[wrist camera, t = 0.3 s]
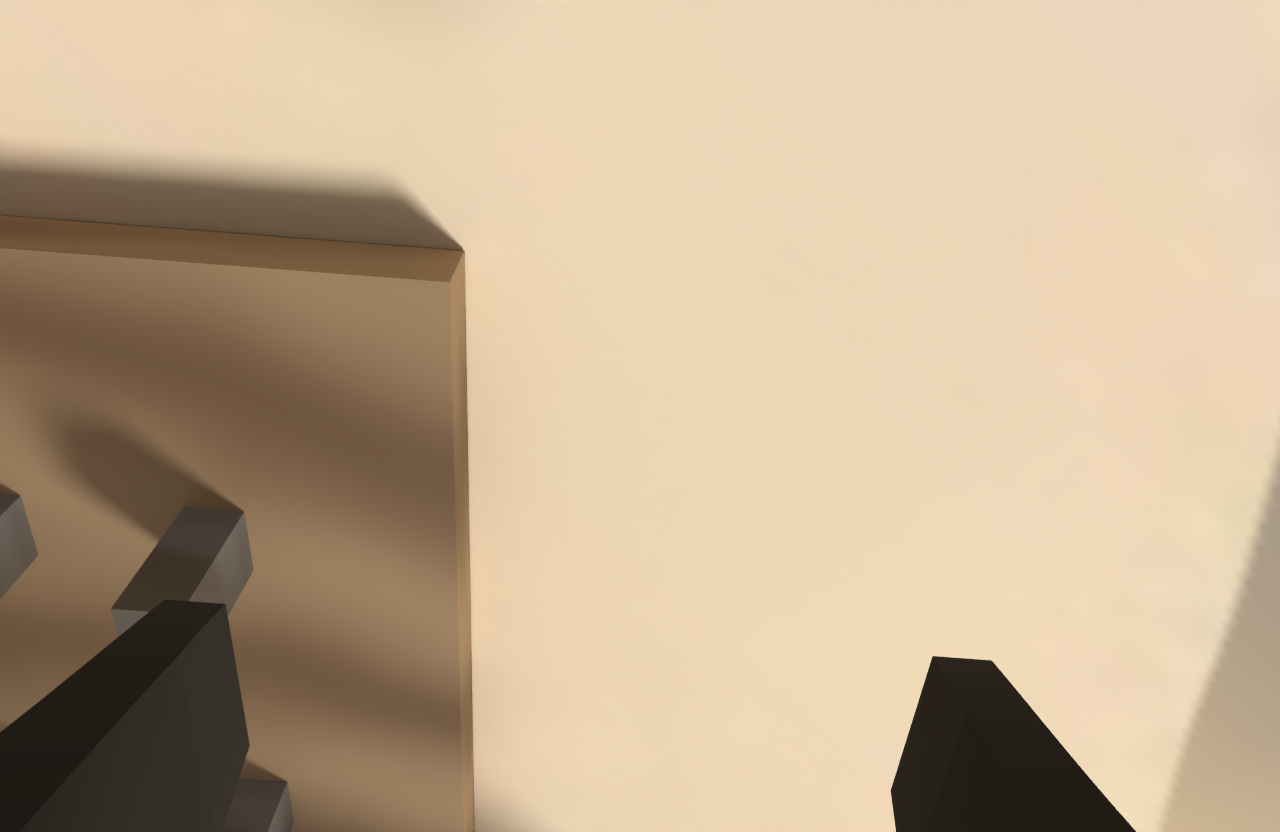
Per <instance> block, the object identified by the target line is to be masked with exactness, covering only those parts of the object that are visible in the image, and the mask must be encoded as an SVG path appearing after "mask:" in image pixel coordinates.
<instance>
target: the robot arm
mask: <svg viewBox="0 0 1280 832" xmlns="http://www.w3.org/2000/svg"><path fill="white" fill-rule="evenodd" d="M249 746H250V743H249V737H248V731H247V726H246V720H245V714H244V708H243V702H242V696H241V691H240V685H239V679H238V673H237V667H236V661H235V656H234V650H233V644H232V638H231V632H230V626H229V620H228V615H227V609H226V604H220V603H207V602H193V601H180V600H166V599H165V600H164V601H162V602H161V603H160V604H159V605H157V606H156V607H155V608H154V609H152V610H151V611H150V612H148V613H147V614H146V615H145V616H143V617H142V618H141V619H140V620H138V621H137V622H136V623H135V624H133V625H132V626H131V627H130V628H128V629H127V630H126V631H125V632H124V633H122V634H121V635H120V636H119V637H117V638H116V639H115V640H114V641H112V642H111V643H110V644H109V645H108V646H106V647H105V648H104V649H103V650H101V651H100V652H99V653H98V654H97V655H95V656H94V657H93V658H92V659H90V660H89V661H88V662H87V663H86V664H84V665H83V666H82V667H81V668H79V669H78V670H77V671H76V672H75V673H73V674H72V675H71V676H70V677H68V678H67V679H66V680H65V681H63V682H62V683H61V684H60V685H59V686H57V687H56V688H55V689H54V690H52V691H51V692H50V693H49V694H47V695H46V696H45V697H44V698H43V699H41V700H40V701H39V702H38V703H36V704H35V705H34V706H33V707H31V708H30V709H29V710H27V711H26V712H25V713H24V714H22V715H21V716H20V717H19V718H17V719H16V720H15V721H14V722H12V723H11V724H10V725H8V726H7V727H6V728H5V729H3V730H2V731H1V732H0V832H221V830H222V827H223V825H224V822H225V819H226V816H227V813H228V810H229V807H230V805H231V802H232V799H233V796H234V793H235V790H236V787H237V784H238V780H239V777H240V774H241V771H242V768H243V765H244V762H245V759H246V756H247V753H248V750H249ZM891 796H892V803H893V811H894V818H895V826H896V832H1136V831H1135V830H1134V829H1133V828H1132V827H1131V825H1130V824H1129V823H1128V822H1127V821H1126V820H1125V819H1124V817H1123V816H1122V815H1121V814H1120V813H1119V812H1118V811H1117V810H1116V808H1115V807H1114V806H1113V805H1112V804H1111V803H1110V802H1109V800H1108V799H1107V798H1106V797H1105V796H1104V795H1103V793H1102V792H1101V791H1100V790H1099V789H1098V788H1097V786H1096V785H1095V784H1094V783H1093V782H1092V780H1091V779H1090V778H1089V777H1088V776H1087V775H1086V773H1085V772H1084V771H1083V770H1082V769H1081V767H1080V766H1079V765H1078V764H1077V763H1076V761H1075V760H1074V759H1073V758H1072V757H1071V756H1070V754H1069V753H1068V752H1067V751H1066V750H1065V748H1064V747H1063V746H1062V745H1061V744H1060V742H1059V741H1058V740H1057V739H1056V738H1055V736H1054V735H1053V734H1052V733H1051V731H1050V730H1049V729H1048V728H1047V727H1046V725H1045V724H1044V723H1043V722H1042V721H1041V719H1040V718H1039V717H1038V716H1037V715H1036V713H1035V712H1034V711H1033V710H1032V708H1031V707H1030V706H1029V705H1028V704H1027V702H1026V701H1025V700H1024V699H1023V698H1022V696H1021V695H1020V694H1019V693H1018V691H1017V690H1016V689H1015V688H1014V687H1013V685H1012V684H1011V683H1010V682H1009V681H1008V679H1007V678H1006V677H1005V676H1004V675H1003V673H1002V672H1001V671H1000V670H999V669H998V668H997V666H996V665H995V664H994V663H993V662H992V661H990V660H976V659H963V658H949V657H936V656H933V657H932V660H931V663H930V667H929V670H928V673H927V676H926V679H925V683H924V686H923V689H922V692H921V696H920V699H919V702H918V705H917V708H916V712H915V715H914V718H913V721H912V724H911V728H910V731H909V734H908V737H907V740H906V744H905V747H904V750H903V753H902V756H901V760H900V763H899V766H898V769H897V772H896V776H895V779H894V782H893V785H892V788H891Z"/></svg>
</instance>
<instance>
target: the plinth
mask: <svg viewBox="0 0 1280 832" xmlns="http://www.w3.org/2000/svg"><path fill="white" fill-rule="evenodd" d="M165 599H166V600H180V601H193V602H207V603H220V604H226V609H227V615H228V620H229V626H230V632H231V638H232V644H233V650H234V656H235V661H236V667H237V673H238V679H239V685H240V691H241V696H242V702H243V708H244V714H245V720H246V726H247V731H248V737H249V743H250V746H249V750H248V753H247V756H246V759H245V762H244V765H243V768H242V771H241V774H240V777H239V780H238V784H237V787H236V790H235V793H234V796H233V799H232V802H231V805H230V807H229V810H228V813H227V816H226V819H225V822H224V825H223V827H222V830H221V832H474V774H473V716H472V658H471V600H470V541H469V483H468V425H467V367H466V309H465V251H458V250H445V249H432V248H419V247H406V246H393V245H380V244H367V243H354V242H341V241H328V240H315V239H302V238H289V237H276V236H263V235H250V234H237V233H224V232H211V231H198V230H185V229H172V228H159V227H146V226H133V225H120V224H107V223H94V222H80V221H67V220H54V219H41V218H28V217H15V216H2V215H0V732H1V731H2V730H3V729H5V728H6V727H7V726H8V725H10V724H11V723H12V722H14V721H15V720H16V719H17V718H19V717H20V716H21V715H22V714H24V713H25V712H26V711H27V710H29V709H30V708H31V707H33V706H34V705H35V704H36V703H38V702H39V701H40V700H41V699H43V698H44V697H45V696H46V695H47V694H49V693H50V692H51V691H52V690H54V689H55V688H56V687H57V686H59V685H60V684H61V683H62V682H63V681H65V680H66V679H67V678H68V677H70V676H71V675H72V674H73V673H75V672H76V671H77V670H78V669H79V668H81V667H82V666H83V665H84V664H86V663H87V662H88V661H89V660H90V659H92V658H93V657H94V656H95V655H97V654H98V653H99V652H100V651H101V650H103V649H104V648H105V647H106V646H108V645H109V644H110V643H111V642H112V641H114V640H115V639H116V638H117V637H119V636H120V635H121V634H122V633H124V632H125V631H126V630H127V629H128V628H130V627H131V626H132V625H133V624H135V623H136V622H137V621H138V620H140V619H141V618H142V617H143V616H145V615H146V614H147V613H148V612H150V611H151V610H152V609H154V608H155V607H156V606H157V605H159V604H160V603H161V602H162V601H164V600H165Z"/></svg>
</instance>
